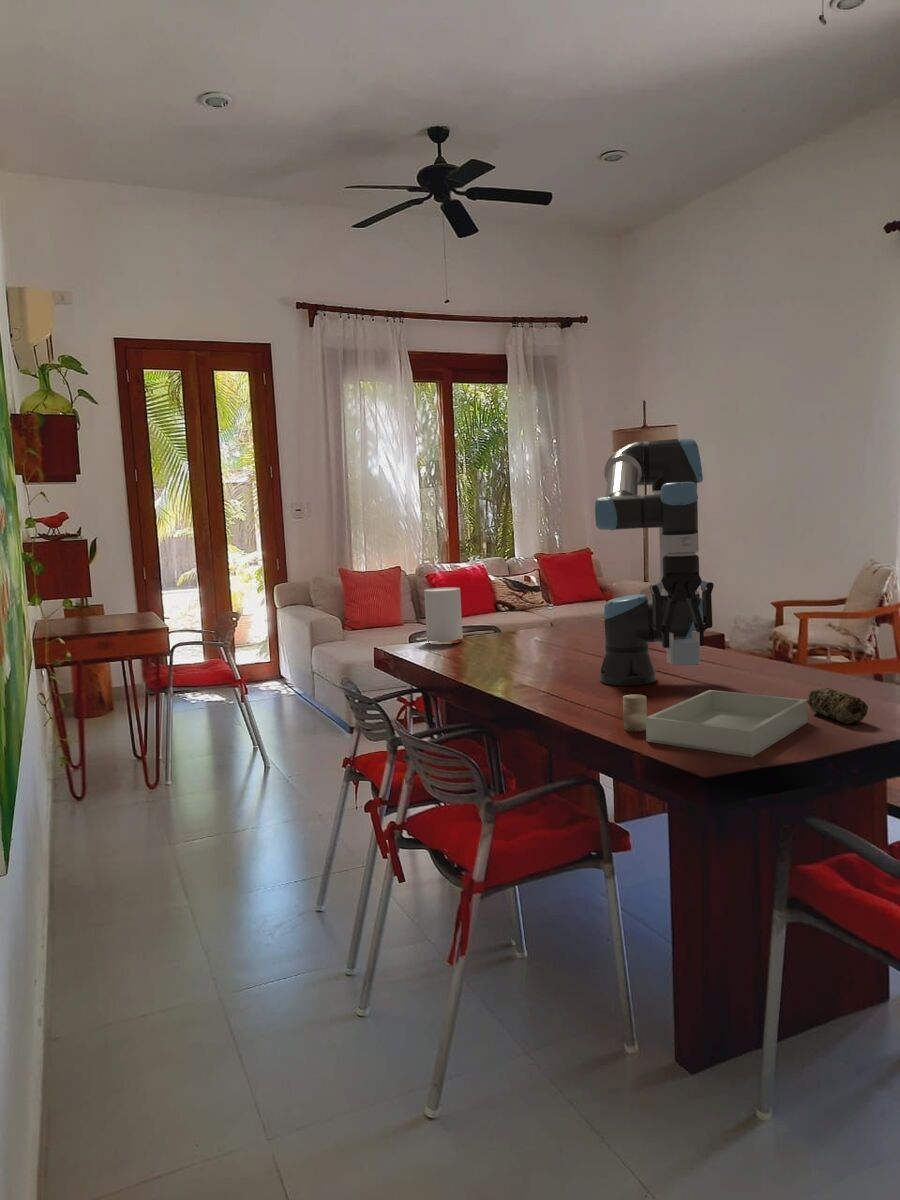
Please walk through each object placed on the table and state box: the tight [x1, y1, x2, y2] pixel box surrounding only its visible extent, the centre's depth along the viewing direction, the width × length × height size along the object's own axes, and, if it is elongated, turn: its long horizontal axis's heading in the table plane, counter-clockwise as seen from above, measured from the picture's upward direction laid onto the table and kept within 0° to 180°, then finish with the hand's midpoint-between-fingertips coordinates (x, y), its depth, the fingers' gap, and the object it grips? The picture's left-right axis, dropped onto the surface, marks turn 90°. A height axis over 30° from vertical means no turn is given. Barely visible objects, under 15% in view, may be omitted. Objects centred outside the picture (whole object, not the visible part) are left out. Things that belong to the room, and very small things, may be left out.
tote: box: [645, 689, 809, 758], centre depth 181 cm, size 22×30×5 cm
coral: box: [806, 687, 869, 725], centre depth 187 cm, size 14×6×6 cm, turn 11°
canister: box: [423, 587, 463, 642], centre depth 325 cm, size 14×14×20 cm
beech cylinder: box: [622, 694, 648, 733], centre depth 188 cm, size 5×5×7 cm
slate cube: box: [671, 639, 700, 667], centre depth 187 cm, size 5×5×5 cm
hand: (683, 661), depth 187 cm, fingers closed on slate cube, 5 cm apart
